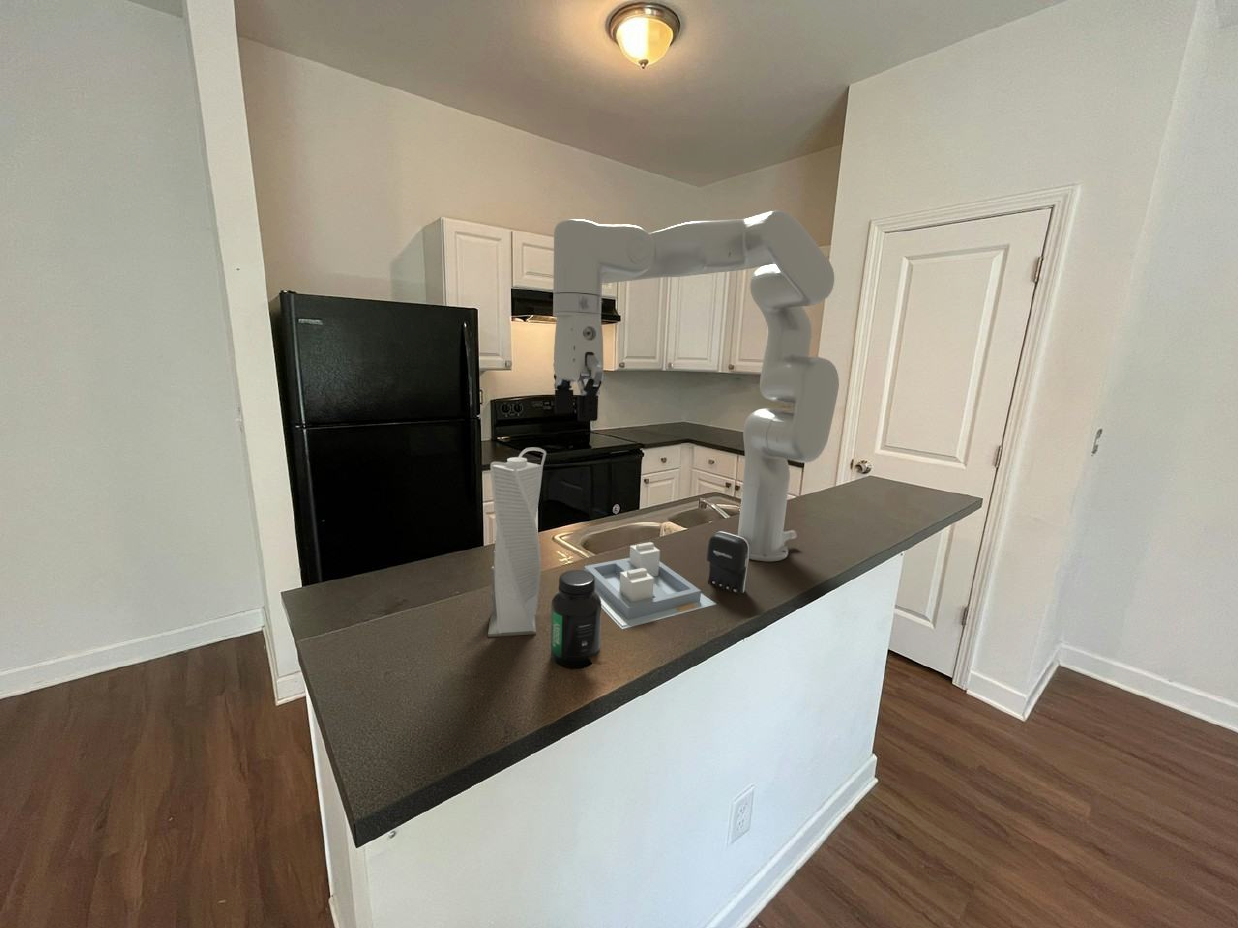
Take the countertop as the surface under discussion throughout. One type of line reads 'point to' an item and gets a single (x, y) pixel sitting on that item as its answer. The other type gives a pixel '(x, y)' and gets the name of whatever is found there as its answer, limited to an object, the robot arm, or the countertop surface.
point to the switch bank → (667, 599)
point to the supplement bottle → (575, 620)
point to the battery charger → (728, 561)
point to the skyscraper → (515, 546)
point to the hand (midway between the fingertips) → (575, 416)
